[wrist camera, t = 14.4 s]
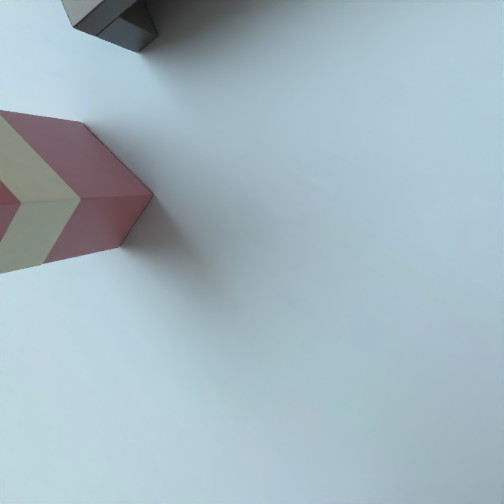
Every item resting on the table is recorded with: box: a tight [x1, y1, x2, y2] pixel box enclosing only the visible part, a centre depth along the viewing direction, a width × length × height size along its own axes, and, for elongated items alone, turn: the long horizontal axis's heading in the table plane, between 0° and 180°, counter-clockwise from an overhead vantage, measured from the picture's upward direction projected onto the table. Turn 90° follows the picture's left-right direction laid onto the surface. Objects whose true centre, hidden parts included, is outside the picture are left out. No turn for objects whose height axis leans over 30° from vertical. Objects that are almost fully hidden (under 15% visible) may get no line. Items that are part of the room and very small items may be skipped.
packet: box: [0, 110, 153, 274], centre depth 19 cm, size 6×4×10 cm, turn 50°
